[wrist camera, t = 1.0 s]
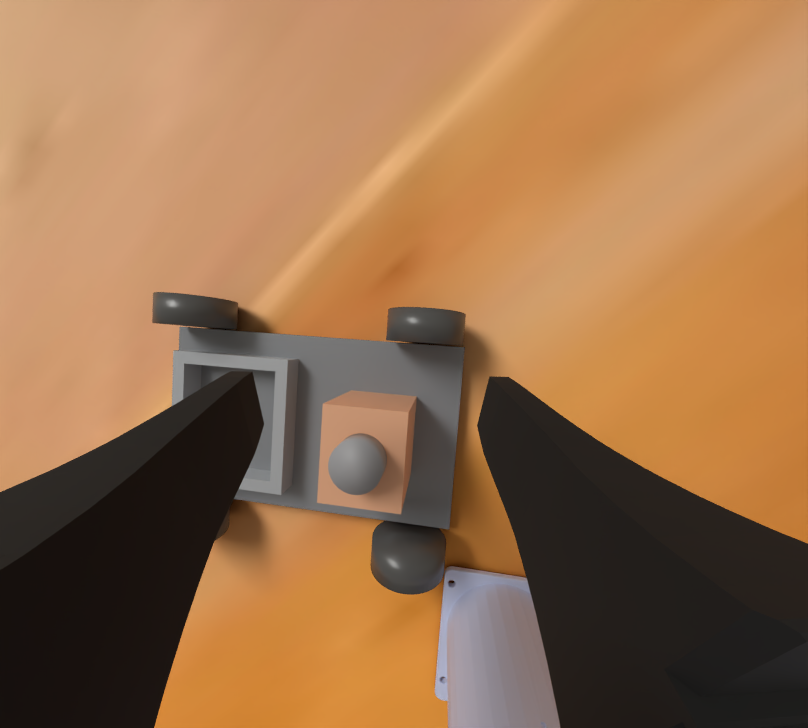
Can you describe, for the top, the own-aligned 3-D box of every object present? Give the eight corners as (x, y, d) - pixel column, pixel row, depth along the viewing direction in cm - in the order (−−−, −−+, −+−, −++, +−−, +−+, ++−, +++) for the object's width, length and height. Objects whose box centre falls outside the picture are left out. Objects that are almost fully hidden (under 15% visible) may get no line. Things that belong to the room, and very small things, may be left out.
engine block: (410, 473, 20) (397, 528, 14) (346, 466, 21) (307, 515, 15) (416, 396, 20) (405, 417, 14) (351, 390, 21) (312, 408, 14)
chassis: (446, 547, 21) (447, 601, 17) (185, 508, 24) (124, 546, 19) (465, 318, 20) (472, 310, 16) (191, 301, 23) (129, 290, 18)
